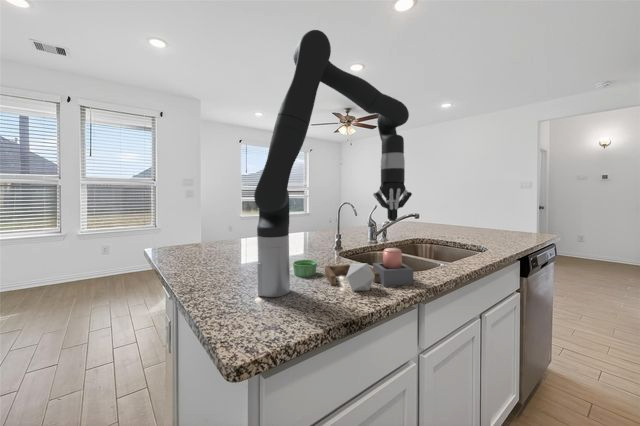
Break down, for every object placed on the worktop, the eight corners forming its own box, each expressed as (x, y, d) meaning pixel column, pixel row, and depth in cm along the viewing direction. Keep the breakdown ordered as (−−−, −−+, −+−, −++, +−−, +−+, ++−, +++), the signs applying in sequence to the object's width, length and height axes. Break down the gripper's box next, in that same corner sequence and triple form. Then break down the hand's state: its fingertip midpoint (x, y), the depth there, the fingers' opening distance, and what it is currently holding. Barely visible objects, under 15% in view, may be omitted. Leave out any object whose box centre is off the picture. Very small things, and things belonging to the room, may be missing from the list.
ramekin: (299, 279, 97) (299, 266, 97) (288, 273, 105) (288, 261, 105) (321, 275, 102) (321, 263, 101) (310, 269, 109) (309, 258, 109)
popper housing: (383, 286, 88) (383, 270, 88) (372, 277, 98) (372, 263, 97) (413, 284, 89) (413, 269, 89) (399, 275, 99) (399, 261, 99)
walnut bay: (331, 285, 89) (331, 276, 89) (324, 273, 103) (324, 265, 103) (379, 282, 92) (379, 273, 92) (366, 271, 105) (366, 263, 105)
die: (367, 298, 80) (382, 269, 82) (341, 282, 81) (356, 254, 83) (362, 298, 88) (376, 271, 90) (339, 284, 89) (353, 258, 91)
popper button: (387, 268, 90) (387, 251, 90) (380, 264, 96) (380, 248, 95) (404, 267, 91) (404, 250, 90) (397, 263, 97) (397, 247, 96)
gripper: (377, 166, 87) (377, 222, 88) (417, 166, 89) (416, 221, 90) (369, 169, 94) (369, 220, 95) (406, 169, 96) (406, 219, 97)
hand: (392, 220), depth 92 cm, fingers closed
